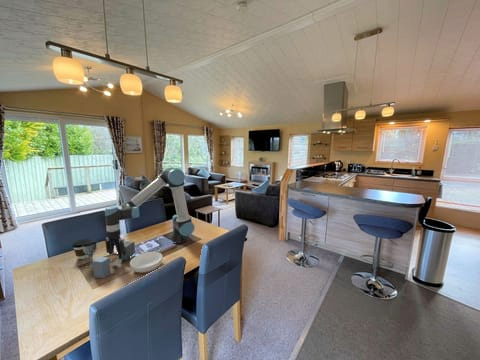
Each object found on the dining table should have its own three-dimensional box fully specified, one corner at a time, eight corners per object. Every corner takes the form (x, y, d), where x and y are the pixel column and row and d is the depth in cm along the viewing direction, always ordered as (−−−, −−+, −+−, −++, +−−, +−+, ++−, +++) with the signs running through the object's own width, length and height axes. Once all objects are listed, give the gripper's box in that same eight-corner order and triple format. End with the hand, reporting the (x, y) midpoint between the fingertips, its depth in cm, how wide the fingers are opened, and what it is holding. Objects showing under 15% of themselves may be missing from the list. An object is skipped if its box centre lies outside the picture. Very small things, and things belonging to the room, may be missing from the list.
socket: (101, 272, 124) (99, 256, 122) (110, 273, 122) (109, 257, 121) (94, 277, 119) (92, 260, 117) (103, 278, 117) (102, 262, 116)
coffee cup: (96, 255, 143) (94, 240, 141) (79, 263, 133) (77, 247, 131) (87, 252, 147) (86, 237, 146) (70, 259, 138) (68, 243, 136)
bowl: (132, 263, 134) (131, 255, 133) (162, 257, 141) (162, 249, 140) (128, 280, 116) (127, 270, 115) (163, 272, 124) (163, 263, 123)
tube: (127, 249, 144) (127, 244, 143) (132, 249, 143) (132, 244, 142) (106, 263, 125) (105, 257, 124) (111, 264, 124) (110, 258, 124)
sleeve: (127, 254, 145) (126, 241, 143) (135, 255, 144) (134, 241, 142) (118, 260, 137) (117, 246, 136) (127, 261, 136) (126, 247, 134)
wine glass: (102, 262, 134) (100, 242, 132) (90, 268, 127) (87, 247, 125) (94, 260, 137) (92, 240, 135) (81, 266, 129) (79, 245, 127)
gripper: (129, 228, 130) (131, 261, 133) (107, 226, 133) (110, 258, 136) (120, 233, 122) (123, 267, 126) (97, 231, 125) (100, 264, 129)
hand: (116, 262), depth 131 cm, fingers closed on tube, 4 cm apart
